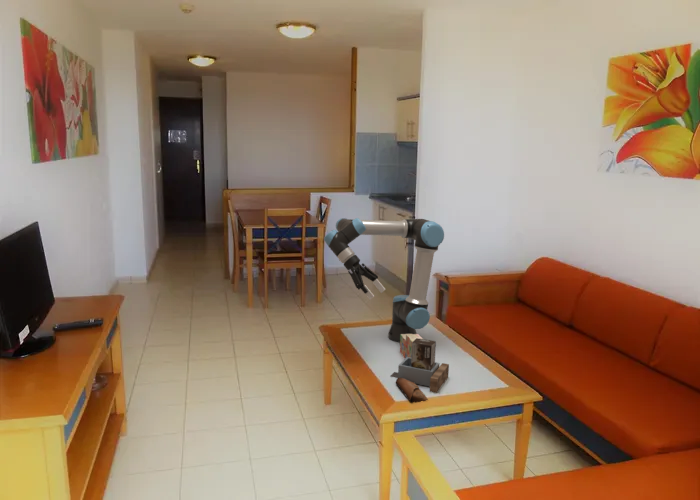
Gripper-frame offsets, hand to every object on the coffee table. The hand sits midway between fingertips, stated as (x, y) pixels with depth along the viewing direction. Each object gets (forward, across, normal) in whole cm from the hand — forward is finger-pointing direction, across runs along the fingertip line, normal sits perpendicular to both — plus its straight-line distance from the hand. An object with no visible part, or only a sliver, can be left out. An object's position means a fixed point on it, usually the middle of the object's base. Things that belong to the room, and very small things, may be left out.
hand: (377, 294), depth 250 cm
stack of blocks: (+33, -11, -13) cm, 38 cm away
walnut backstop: (+47, +10, +1) cm, 48 cm away
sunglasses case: (+42, +23, -5) cm, 48 cm away
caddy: (+40, +10, -6) cm, 42 cm away
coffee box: (+40, +10, -4) cm, 42 cm away
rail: (+39, +10, -7) cm, 41 cm away
